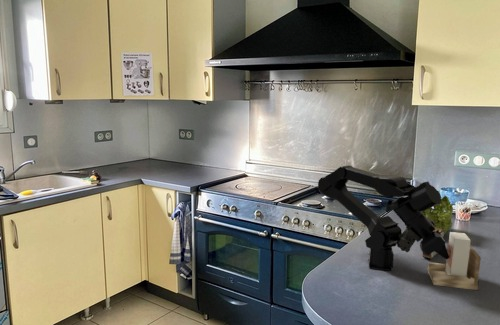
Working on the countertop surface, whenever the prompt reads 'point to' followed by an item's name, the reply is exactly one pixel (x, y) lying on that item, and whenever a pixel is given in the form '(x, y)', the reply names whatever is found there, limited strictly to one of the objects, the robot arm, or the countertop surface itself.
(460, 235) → the white milk carton
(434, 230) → the tin
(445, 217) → the green leafy lettuce
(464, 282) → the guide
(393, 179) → the robot arm
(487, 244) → the countertop surface
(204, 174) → the countertop surface
